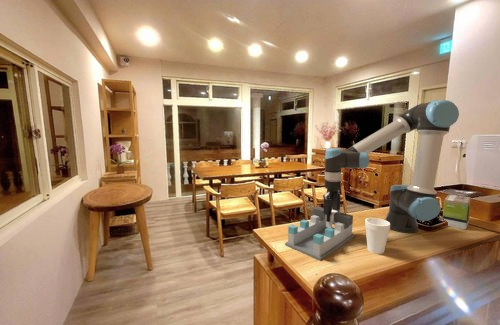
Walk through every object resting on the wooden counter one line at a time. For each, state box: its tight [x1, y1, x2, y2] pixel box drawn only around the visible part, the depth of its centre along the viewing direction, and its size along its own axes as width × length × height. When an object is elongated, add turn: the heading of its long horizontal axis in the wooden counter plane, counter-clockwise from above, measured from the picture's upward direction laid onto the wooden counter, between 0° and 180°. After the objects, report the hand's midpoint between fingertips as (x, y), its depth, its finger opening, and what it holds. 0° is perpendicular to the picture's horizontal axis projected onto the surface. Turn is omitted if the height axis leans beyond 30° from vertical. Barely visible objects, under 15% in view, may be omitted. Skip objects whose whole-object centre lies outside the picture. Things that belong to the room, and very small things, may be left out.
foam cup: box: [364, 217, 391, 255], centre depth 99 cm, size 10×9×13 cm
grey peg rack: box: [284, 214, 356, 262], centre depth 109 cm, size 18×32×9 cm, turn 132°
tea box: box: [442, 194, 472, 231], centre depth 127 cm, size 15×10×15 cm, turn 133°
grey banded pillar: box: [312, 206, 354, 226], centre depth 114 cm, size 19×5×5 cm, turn 42°
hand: (331, 225), depth 115 cm, fingers closed on grey banded pillar, 5 cm apart
